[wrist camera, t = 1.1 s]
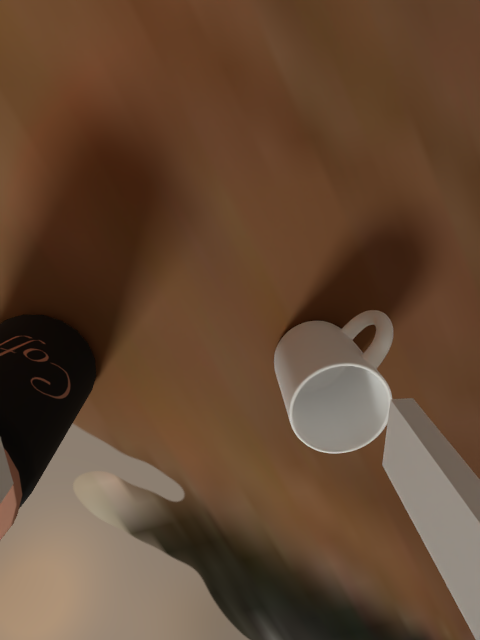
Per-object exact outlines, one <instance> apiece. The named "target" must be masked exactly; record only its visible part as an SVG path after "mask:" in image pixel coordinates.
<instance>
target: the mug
mask: <svg viewBox="0 0 480 640" xmlns="http://www.w3.org/2000/svg"><path fill="white" fill-rule="evenodd" d="M369 325H375V327H376V334H375V337H374V339H373V341H372V343H371V345H370V346H369V347H368V349H367V350H366V351H365V352H364V353H363V352H362V351H361V350H360V349H359V347H358V346H357V345H356V344H355V343H354V342H353V339H354V338H355V337H356V335H357V334H358V333H359V332H360V331H361V330H363V329H364V328H365V327H367V326H369ZM392 340H393V326H392V322H391V320H390V319H389V317H388V316H387V315H386V314H385V313H383V312H381V311H377V310H369V311H365V312H362V313H361V314H359V315H357V316H355V317H354V318H353V319H351V320H350V321H349V322H348V323H347V324H346V325H345V326H344V327H343V328H342V329H341V328H339V327H338V326H336V325H334V324H332V323H329V322H325V321H309V322H305V323H301V324H299V325H297V326H295V327H293V328H292V329H290V330H289V331H288V332H287V333H286V334H285V335H284V336H283V337H282V338H281V340H280V342H279V343H278V345H277V348H276V351H275V356H274V367H275V372H276V376H277V379H278V383H279V386H280V389H281V393H282V396H283V400H284V403H285V406H286V410H287V413H288V416H289V420H290V423H291V426H292V429H293V431H294V432H295V434H296V435H297V437H298V438H299V439H300V440H301V441H302V442H303V443H305V444H306V445H307V446H309V447H311V448H313V449H315V450H317V451H321V452H325V453H345V452H350V451H354V450H356V449H359V448H361V447H363V446H365V445H367V444H368V443H370V442H371V441H373V440H374V439H375V438H376V437H377V436H378V435H379V434H380V433H381V432H382V431H383V429H384V428H385V426H386V425H387V423H388V416H389V408H390V400H391V399H392V394H391V390H390V388H389V385H388V384H387V382H386V380H385V379H384V378H383V377H382V375H381V374H380V373H379V372H378V371H377V367H378V366H379V365H380V364H381V362H382V361H383V359H384V358H385V356H386V355H387V353H388V351H389V349H390V346H391V343H392Z"/></svg>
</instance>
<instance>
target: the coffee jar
mask: <svg viewBox="0 0 480 640" xmlns="http://www.w3.org/2000/svg"><path fill="white" fill-rule="evenodd" d="M95 378H96V366H95V358H94V356H93V354H92V351H91V349H90V347H89V345H88V343H87V342H86V341H85V340H84V338H83V337H82V336H81V335H80V334H79V333H78V331H77V330H75V329H73V328H72V327H70V326H69V325H67V324H66V323H64V322H63V321H60V320H57V319H54V318H51V317H48V316H45V315H21V316H18V317H14V318H11V319H7V320H5V321H4V322H2V323H1V324H0V437H1V441H2V444H3V448H4V451H5V455H6V459H7V462H8V466H9V469H10V473H11V476H12V480H13V483H14V484H13V485H12V487H11V488H10V490H9V492H8V493H7V495H6V496H5V498H4V499H3V501H2V502H1V504H0V540H1V539H2V537H3V536H4V535H5V533H6V532H7V531H8V530H9V528H10V527H11V526H12V525H13V523H14V520H15V519H16V516H17V514H18V510H19V508H20V507H21V506H22V504H23V503H24V502H25V501H26V499H27V498H28V497H29V495H30V494H31V493H32V491H33V490H34V488H35V486H36V484H37V483H38V481H39V479H40V478H41V476H42V474H43V472H44V471H45V469H46V467H47V465H48V464H49V462H50V460H51V459H52V457H53V455H54V454H55V452H56V450H57V448H58V447H59V445H60V443H61V442H62V440H63V438H64V437H65V435H66V433H67V431H68V429H69V428H70V426H71V425H72V423H73V421H74V420H75V418H76V416H77V414H78V413H79V411H80V409H81V408H82V406H83V404H84V403H85V401H86V399H87V397H88V396H89V394H90V392H91V391H92V388H93V385H94V381H95Z"/></svg>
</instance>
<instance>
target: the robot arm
mask: <svg viewBox="0 0 480 640" xmlns="http://www.w3.org/2000/svg"><path fill="white" fill-rule="evenodd" d="M382 465H383V467H384V469H385V471H386V473H387V475H388V477H389V479H390V480H391V482H392V484H393V486H394V488H395V490H396V492H397V493H398V495H399V497H400V499H401V501H402V503H403V505H404V507H405V508H406V510H407V512H408V514H409V516H410V518H411V520H412V521H413V523H414V525H415V527H416V529H417V531H418V533H419V534H420V536H421V538H422V540H423V542H424V544H425V546H426V548H427V549H428V551H429V553H430V555H431V557H432V559H433V561H434V562H435V564H436V566H437V568H438V570H439V572H440V574H441V575H442V577H443V579H444V581H445V583H446V585H447V587H448V589H449V590H450V592H451V594H452V596H453V598H454V600H455V602H456V603H457V605H458V607H459V609H460V611H461V613H462V615H463V617H464V618H465V620H466V622H467V624H468V626H469V628H470V630H471V631H472V633H473V635H474V637H475V639H476V640H480V479H479V478H478V477H477V476H476V475H475V473H474V472H473V471H472V470H471V468H470V467H469V466H468V465H467V464H466V462H465V461H464V460H463V459H462V458H461V456H460V455H459V454H458V453H457V451H456V450H455V449H454V448H453V447H452V445H451V444H450V443H449V442H448V440H447V439H446V438H445V437H444V436H443V434H442V433H441V432H440V431H439V430H438V428H437V427H436V426H435V425H434V423H433V422H432V421H431V420H430V419H429V417H428V416H427V415H426V414H425V412H424V411H423V410H422V409H421V408H420V406H419V405H418V404H417V403H416V402H415V400H414V399H413V398H409V399H391V400H390V408H389V416H388V424H387V432H386V440H385V448H384V456H383V464H382ZM13 484H14V483H13V480H12V476H11V473H10V469H9V466H8V462H7V459H6V455H5V451H4V448H3V444H2V441H1V437H0V504H1V502H2V501H3V499H4V498H5V496H6V495H7V493H8V492H9V490H10V488H11V487H12V485H13Z"/></svg>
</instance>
